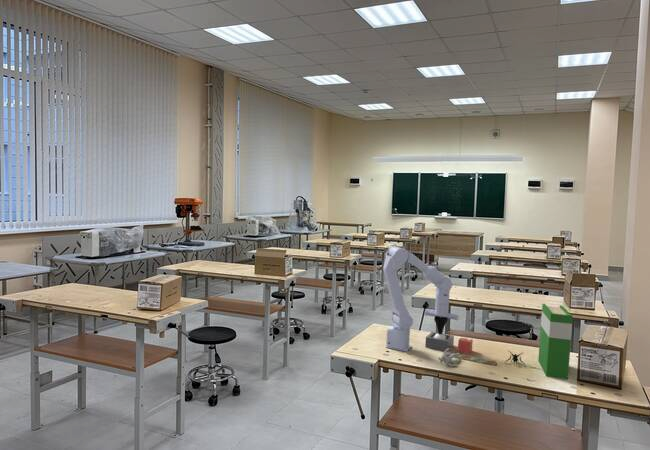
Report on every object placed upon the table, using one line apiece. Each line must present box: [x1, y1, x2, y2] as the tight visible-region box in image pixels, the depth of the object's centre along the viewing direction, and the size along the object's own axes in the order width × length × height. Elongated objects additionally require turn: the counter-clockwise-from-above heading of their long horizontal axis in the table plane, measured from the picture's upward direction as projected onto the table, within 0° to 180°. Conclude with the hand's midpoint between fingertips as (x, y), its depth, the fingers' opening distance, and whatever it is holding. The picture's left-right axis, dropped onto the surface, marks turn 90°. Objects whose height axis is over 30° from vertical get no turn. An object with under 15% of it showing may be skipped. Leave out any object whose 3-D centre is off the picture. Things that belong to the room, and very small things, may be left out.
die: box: [457, 337, 474, 355], centre depth 198 cm, size 5×5×5 cm
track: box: [445, 351, 498, 366], centre depth 188 cm, size 20×4×1 cm, turn 62°
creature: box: [504, 349, 527, 368], centre depth 184 cm, size 8×5×8 cm
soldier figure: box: [438, 348, 464, 368], centre depth 182 cm, size 8×5×12 cm
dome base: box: [424, 331, 455, 353], centre depth 203 cm, size 10×10×4 cm
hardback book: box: [537, 303, 574, 380], centre depth 179 cm, size 18×7×24 cm, turn 164°
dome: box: [434, 332, 447, 340], centre depth 203 cm, size 7×7×6 cm
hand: (440, 333), depth 203 cm, fingers closed, pressing on dome
